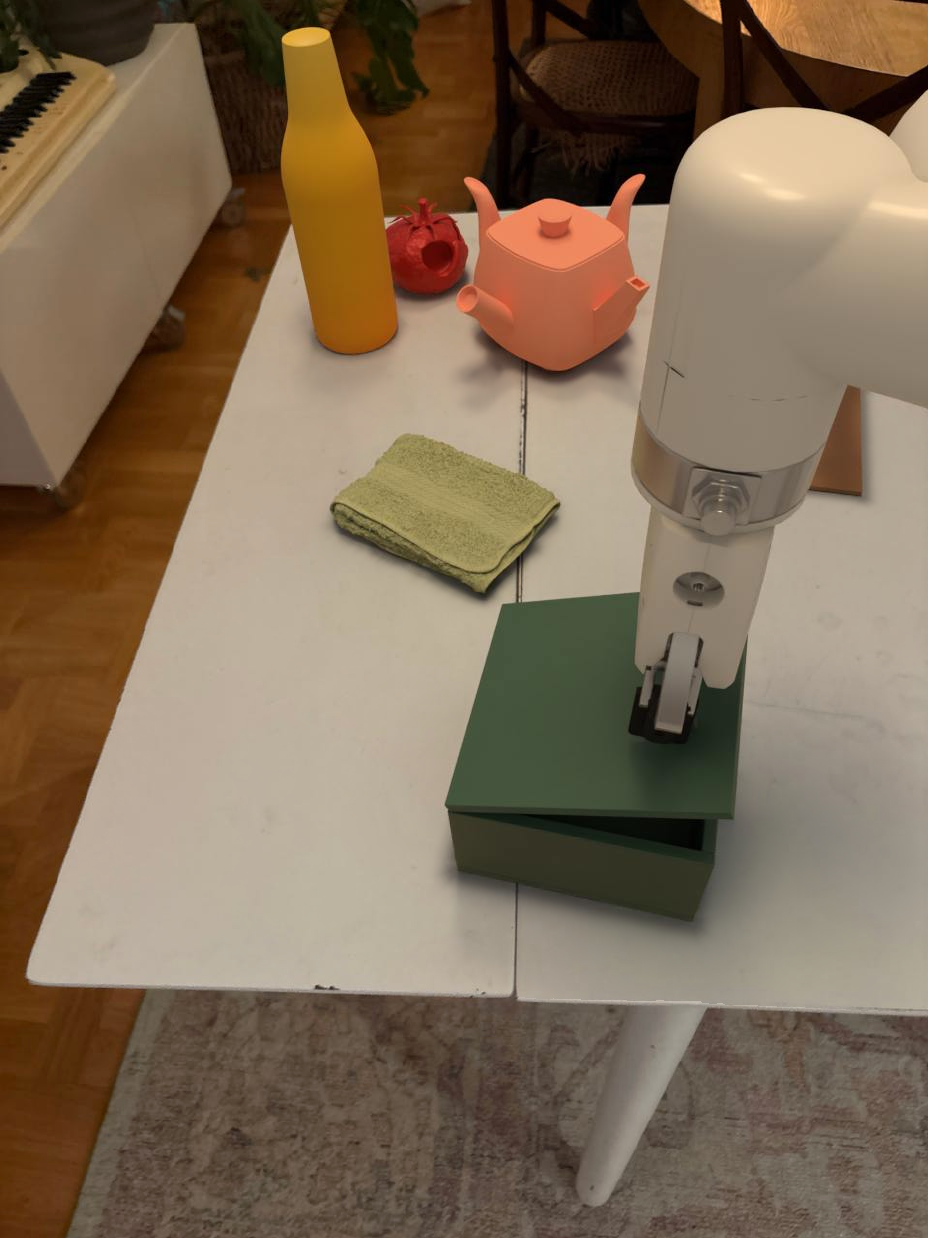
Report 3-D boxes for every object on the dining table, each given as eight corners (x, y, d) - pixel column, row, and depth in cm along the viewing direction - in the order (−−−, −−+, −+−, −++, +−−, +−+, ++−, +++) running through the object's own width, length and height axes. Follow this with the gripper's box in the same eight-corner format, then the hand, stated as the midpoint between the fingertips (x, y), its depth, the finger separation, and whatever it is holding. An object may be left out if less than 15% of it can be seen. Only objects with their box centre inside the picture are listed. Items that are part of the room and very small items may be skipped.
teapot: (471, 289, 104) (463, 167, 93) (634, 285, 102) (645, 161, 91) (461, 389, 93) (451, 264, 82) (643, 387, 91) (658, 260, 80)
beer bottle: (379, 362, 96) (331, 62, 73) (301, 348, 99) (232, 53, 76) (412, 313, 101) (377, 19, 79) (337, 301, 104) (282, 12, 81)
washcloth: (487, 606, 75) (486, 581, 72) (324, 526, 82) (317, 500, 79) (568, 509, 81) (569, 482, 79) (410, 442, 88) (406, 416, 86)
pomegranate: (369, 292, 105) (356, 214, 97) (413, 249, 110) (404, 172, 102) (443, 312, 101) (436, 233, 94) (485, 266, 106) (481, 188, 99)
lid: (751, 590, 55) (735, 533, 52) (734, 820, 46) (713, 769, 43) (506, 610, 63) (478, 562, 60) (449, 811, 54) (412, 768, 51)
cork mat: (858, 389, 89) (860, 385, 88) (861, 495, 80) (862, 491, 80) (702, 374, 92) (703, 370, 91) (688, 474, 83) (689, 470, 83)
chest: (713, 717, 67) (733, 647, 60) (693, 922, 58) (714, 866, 51) (507, 682, 70) (504, 611, 63) (457, 870, 61) (447, 812, 54)
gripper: (815, 620, 32) (718, 836, 46) (821, 334, 42) (740, 583, 56) (603, 585, 33) (573, 805, 48) (658, 315, 44) (620, 563, 58)
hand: (664, 683), depth 52 cm, fingers closed on lid, 6 cm apart
